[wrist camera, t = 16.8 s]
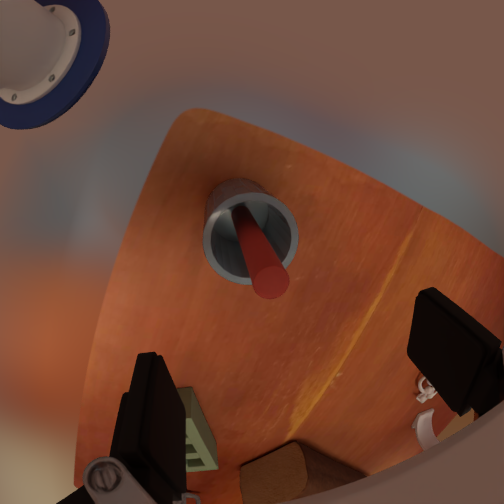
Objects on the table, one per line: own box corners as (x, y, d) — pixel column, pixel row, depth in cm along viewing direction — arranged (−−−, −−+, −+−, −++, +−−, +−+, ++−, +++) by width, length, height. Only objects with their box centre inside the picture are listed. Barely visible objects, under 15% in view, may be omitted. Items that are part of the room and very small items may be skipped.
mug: (158, 492, 51) (157, 514, 45) (157, 482, 49) (156, 506, 43) (198, 496, 53) (200, 518, 47) (201, 487, 51) (202, 510, 45)
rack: (181, 445, 44) (181, 472, 39) (150, 391, 39) (145, 421, 33) (216, 442, 45) (218, 469, 39) (191, 386, 39) (191, 417, 34)
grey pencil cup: (211, 249, 33) (213, 292, 23) (198, 184, 30) (194, 202, 21) (276, 237, 33) (302, 275, 24) (267, 173, 31) (293, 185, 21)
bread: (322, 496, 62) (334, 531, 50) (234, 466, 49) (242, 521, 36) (369, 472, 60) (385, 508, 48) (298, 435, 47) (317, 493, 34)
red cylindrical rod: (234, 226, 31) (258, 303, 16) (228, 208, 31) (248, 272, 16) (252, 221, 31) (292, 293, 16) (247, 203, 31) (285, 261, 16)
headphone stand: (432, 407, 53) (457, 441, 42) (423, 423, 55) (445, 456, 44) (418, 413, 52) (442, 449, 41) (409, 429, 54) (431, 463, 43)
